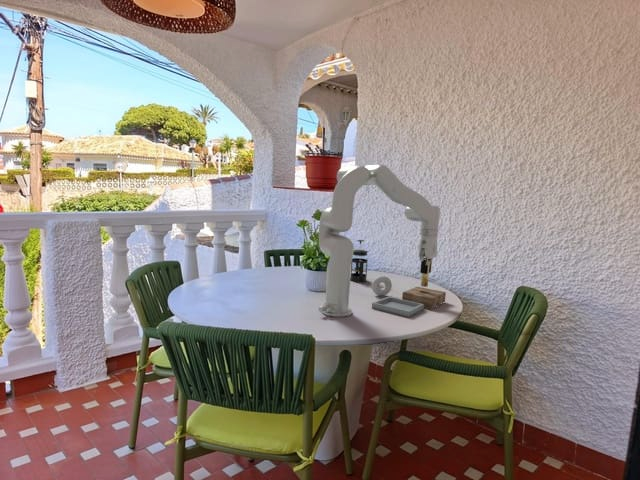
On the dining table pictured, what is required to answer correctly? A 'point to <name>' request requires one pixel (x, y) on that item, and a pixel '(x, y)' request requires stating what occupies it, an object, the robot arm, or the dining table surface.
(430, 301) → the pin block
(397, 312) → the tray
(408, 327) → the dining table surface
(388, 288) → the donut
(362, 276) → the french press
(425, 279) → the pin
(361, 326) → the dining table surface
